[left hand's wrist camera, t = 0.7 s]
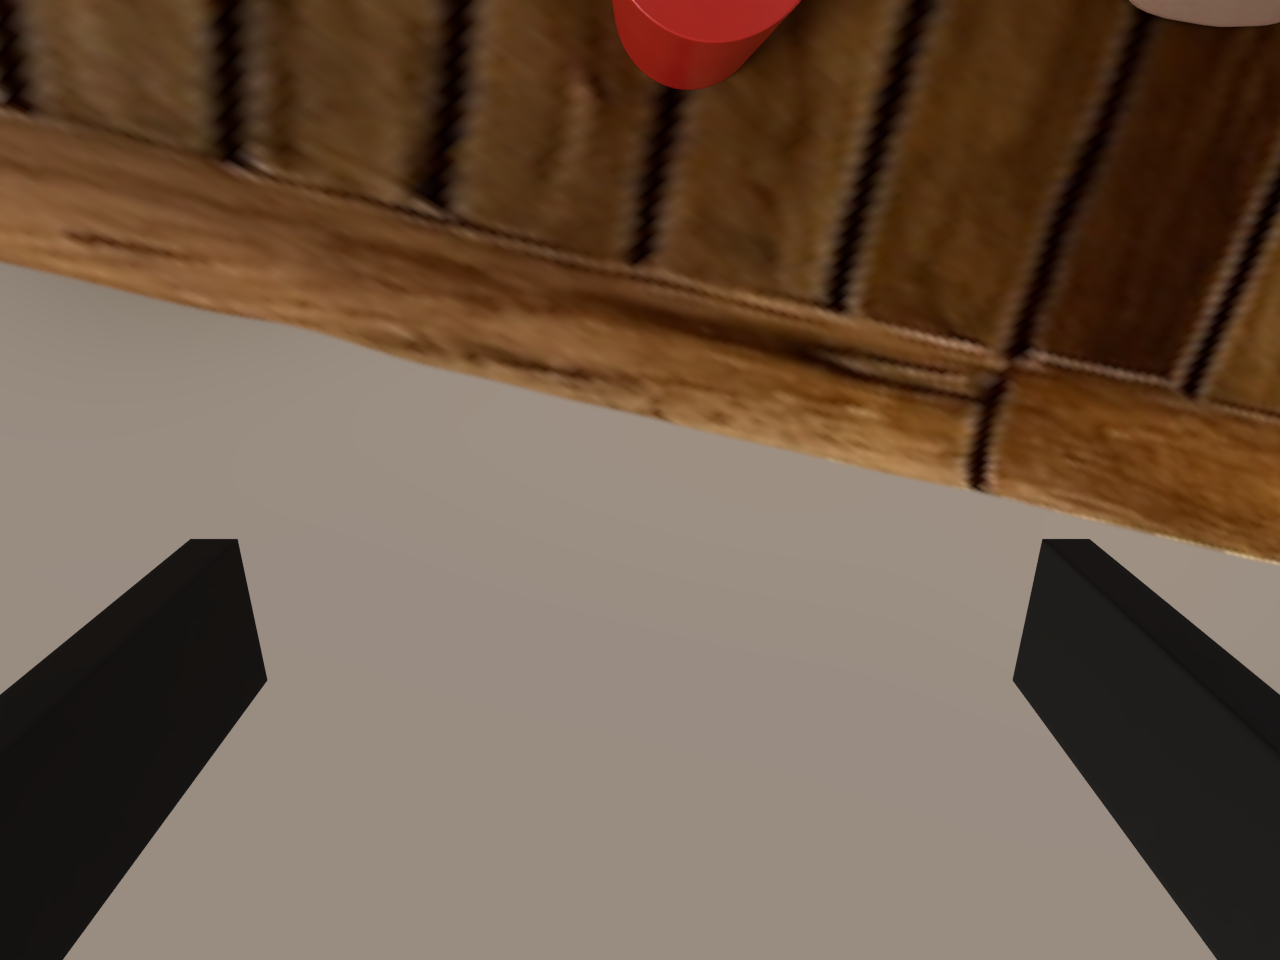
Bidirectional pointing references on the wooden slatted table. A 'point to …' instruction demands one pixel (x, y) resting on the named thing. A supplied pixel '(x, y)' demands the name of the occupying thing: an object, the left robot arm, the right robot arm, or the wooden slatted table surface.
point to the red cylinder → (695, 36)
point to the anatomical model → (1215, 11)
